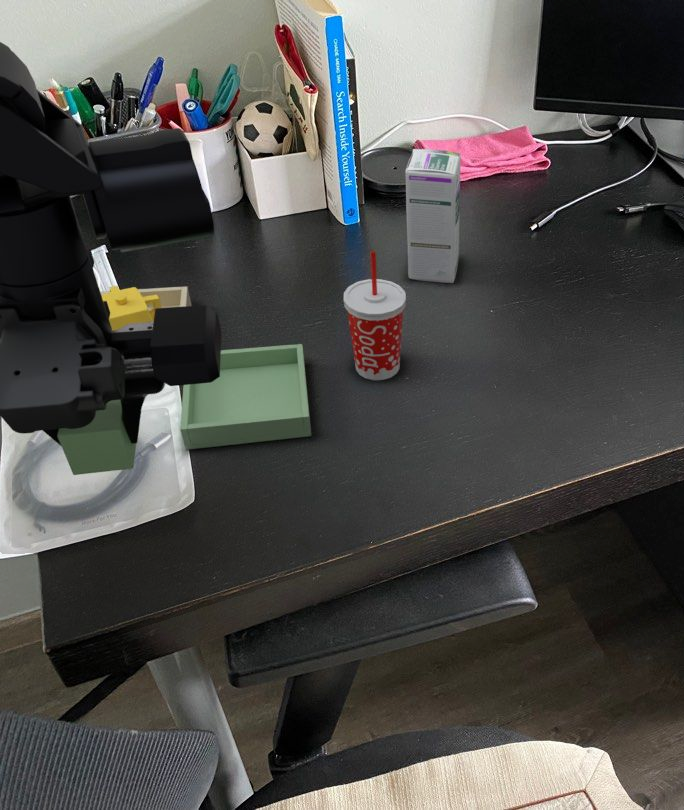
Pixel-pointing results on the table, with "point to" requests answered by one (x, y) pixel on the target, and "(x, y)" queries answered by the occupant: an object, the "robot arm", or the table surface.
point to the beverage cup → (375, 324)
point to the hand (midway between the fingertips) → (103, 443)
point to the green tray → (249, 399)
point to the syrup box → (433, 214)
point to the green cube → (99, 443)
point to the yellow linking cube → (129, 306)
